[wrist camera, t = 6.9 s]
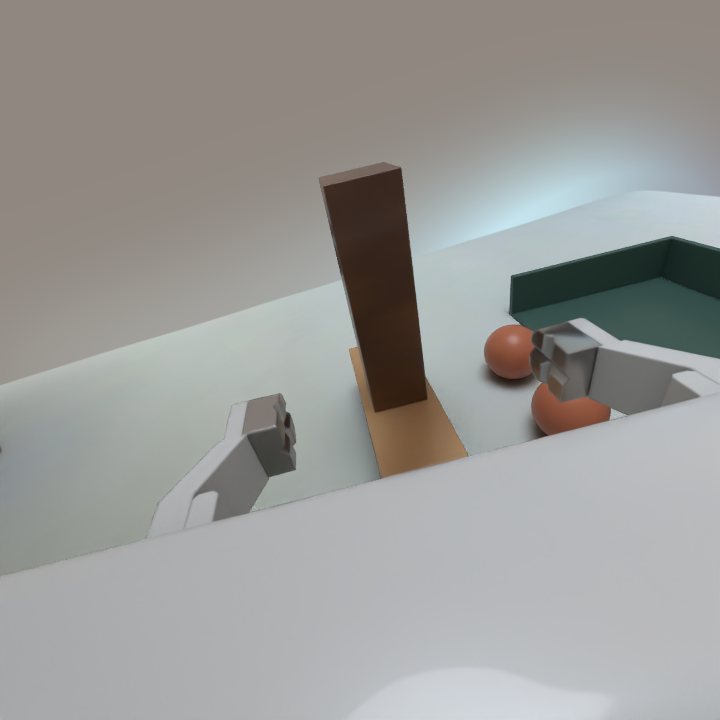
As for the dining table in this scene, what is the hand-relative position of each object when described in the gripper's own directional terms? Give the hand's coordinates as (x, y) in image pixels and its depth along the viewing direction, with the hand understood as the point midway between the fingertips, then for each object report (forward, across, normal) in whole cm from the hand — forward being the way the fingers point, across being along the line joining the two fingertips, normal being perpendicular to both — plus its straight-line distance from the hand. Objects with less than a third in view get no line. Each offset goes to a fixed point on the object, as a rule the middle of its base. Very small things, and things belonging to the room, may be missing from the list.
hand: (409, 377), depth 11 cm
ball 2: (+2, -8, +7) cm, 11 cm away
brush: (+5, 0, +8) cm, 9 cm away
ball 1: (+8, -8, +8) cm, 13 cm away
